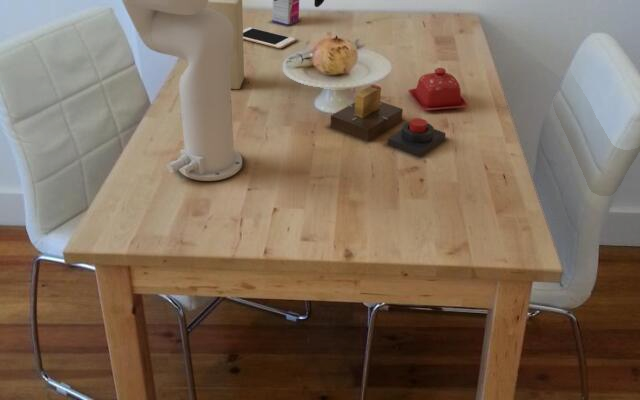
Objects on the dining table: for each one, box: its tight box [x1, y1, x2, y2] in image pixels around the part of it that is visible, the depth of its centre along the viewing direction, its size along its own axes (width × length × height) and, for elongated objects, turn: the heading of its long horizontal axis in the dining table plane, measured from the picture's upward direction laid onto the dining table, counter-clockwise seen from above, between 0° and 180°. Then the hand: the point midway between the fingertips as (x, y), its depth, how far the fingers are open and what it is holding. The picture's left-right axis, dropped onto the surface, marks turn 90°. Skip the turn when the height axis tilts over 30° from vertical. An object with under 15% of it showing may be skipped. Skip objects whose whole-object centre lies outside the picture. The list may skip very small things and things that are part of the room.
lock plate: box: [330, 100, 404, 143], centre depth 163 cm, size 13×11×3 cm
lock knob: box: [354, 83, 382, 118], centre depth 161 cm, size 6×2×5 cm, turn 141°
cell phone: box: [243, 26, 297, 49], centre depth 206 cm, size 8×16×1 cm, turn 58°
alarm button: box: [409, 117, 428, 133], centre depth 155 cm, size 4×4×2 cm
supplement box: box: [272, 0, 300, 27], centre depth 216 cm, size 6×6×12 cm
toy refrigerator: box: [205, 0, 245, 90], centre depth 175 cm, size 8×7×21 cm
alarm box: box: [387, 121, 447, 158], centre depth 156 cm, size 10×8×4 cm
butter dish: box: [407, 67, 468, 111], centre depth 172 cm, size 12×12×8 cm
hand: (298, 2), depth 161 cm, fingers open, 9 cm apart
